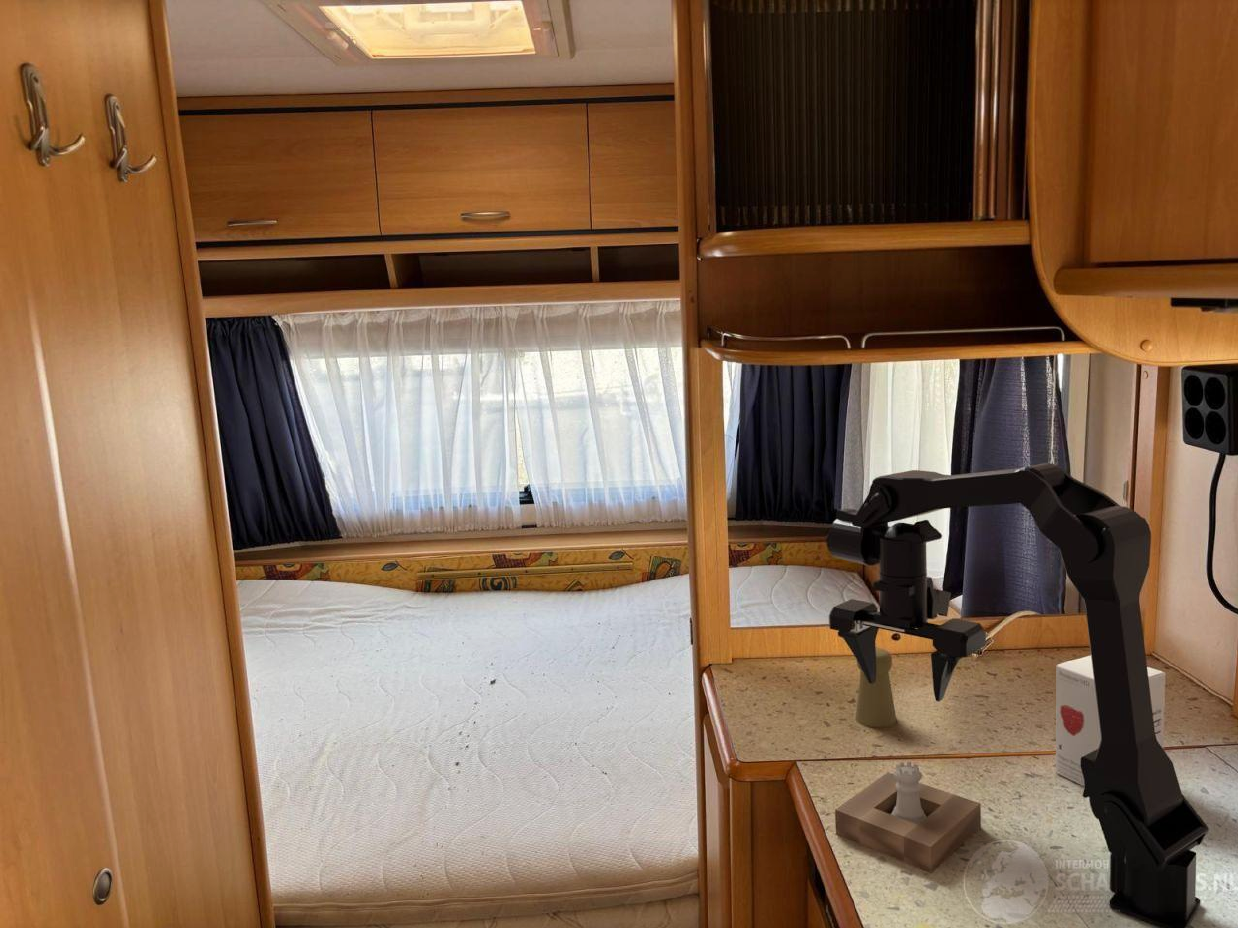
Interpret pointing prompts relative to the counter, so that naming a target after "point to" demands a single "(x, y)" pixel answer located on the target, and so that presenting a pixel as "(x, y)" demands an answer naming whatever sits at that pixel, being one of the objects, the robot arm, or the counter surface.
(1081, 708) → the supplement box
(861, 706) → the cork
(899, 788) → the rook chess piece
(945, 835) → the walnut socket
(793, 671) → the counter surface
